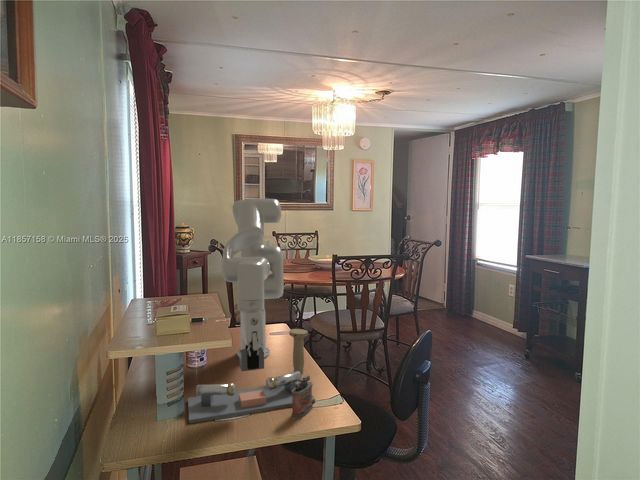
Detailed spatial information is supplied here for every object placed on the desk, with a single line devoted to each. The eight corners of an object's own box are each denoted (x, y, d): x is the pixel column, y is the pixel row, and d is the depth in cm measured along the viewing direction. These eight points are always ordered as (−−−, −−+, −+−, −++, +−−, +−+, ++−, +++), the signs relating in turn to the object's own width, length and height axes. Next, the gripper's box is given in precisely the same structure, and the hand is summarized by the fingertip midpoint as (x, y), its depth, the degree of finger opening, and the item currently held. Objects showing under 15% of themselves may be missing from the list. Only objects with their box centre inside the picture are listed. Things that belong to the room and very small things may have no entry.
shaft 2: (271, 402, 123) (271, 381, 122) (265, 397, 126) (265, 376, 126) (302, 393, 129) (302, 372, 128) (295, 388, 132) (295, 368, 132)
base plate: (188, 401, 124) (187, 391, 124) (302, 383, 136) (302, 375, 135) (189, 423, 112) (188, 413, 111) (315, 402, 123) (315, 392, 123)
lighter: (298, 420, 114) (298, 385, 113) (289, 416, 115) (288, 382, 114) (315, 407, 120) (315, 374, 119) (305, 404, 122) (305, 372, 121)
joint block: (239, 366, 121) (239, 347, 120) (261, 363, 123) (261, 345, 123) (241, 371, 117) (241, 352, 117) (264, 368, 119) (264, 349, 119)
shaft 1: (235, 402, 123) (235, 380, 123) (233, 409, 119) (233, 386, 119) (198, 403, 123) (198, 381, 122) (195, 410, 119) (195, 387, 118)
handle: (303, 377, 140) (303, 334, 139) (287, 374, 143) (286, 332, 141) (309, 372, 145) (309, 330, 143) (293, 368, 147) (293, 328, 146)
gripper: (270, 309, 112) (270, 375, 113) (258, 296, 128) (259, 354, 129) (242, 312, 109) (243, 378, 111) (234, 298, 125) (235, 356, 127)
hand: (251, 364), depth 120 cm, fingers closed on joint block, 4 cm apart
